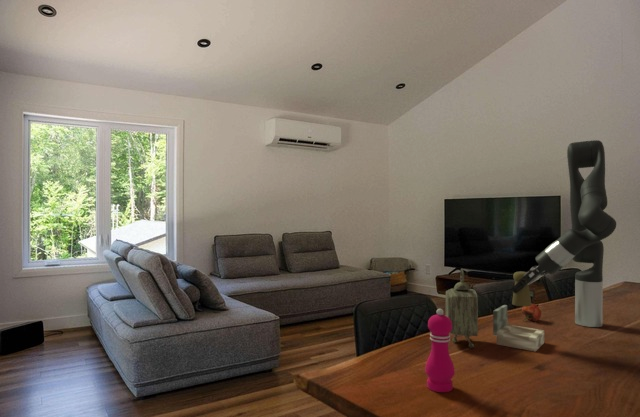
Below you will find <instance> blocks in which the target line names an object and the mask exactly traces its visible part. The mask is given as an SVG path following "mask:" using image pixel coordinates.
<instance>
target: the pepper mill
mask: <svg viewBox="0 0 640 417" xmlns="http://www.w3.org/2000/svg"><path fill="white" fill-rule="evenodd" d="M444 313H445V310H443V309H442V308H438V309H436V314H434V315H431V316H430V317H429V319H428V321H427V329H428V330H429V331H430V333H429V336H430V337H429V340H431V350H430V353H429V356H428V358H427V360H426V363H425V367H424V370H425V374H426V375H427V376H428V378H426V386H427V389H429V390H430V391H432V392H437V393H450V392H451V391H453V389H454V388H453V384H454V383H453V381H452V379H453V377H454V376H455V374H456V373H455V372H456V371H455V370H456V369H455V366H454V363H453V360H452V358H451V356H450V352H449V342H450V341H451V333H450V332H451V330H452V322H451V320H450V318H448V317H447V316H446V314H445V315H444Z"/></svg>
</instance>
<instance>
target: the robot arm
mask: <svg viewBox="0 0 640 417" xmlns="http://www.w3.org/2000/svg"><path fill="white" fill-rule="evenodd" d="M566 149H567V150H566V154H567V156H566V157H567V166H568V175H569V192H570V194H569V198H570V199H569V206H570V207H569V208H570V219H571V220H570V221H571V229H568V230H567V231H565V233H563V234H562V235H561V236H560V237H558V238H557V239H556V240H555V241H553V242H552V243H550V244H549V245H548V246H547V247H546V248H545V249H543V250H542V251H541V252H540V253H539V254H537V255H536V256H535V261H536V263H537V264H538V265H534V266H532V267H531V268H530V269H529V270H528V271H526V272H527V273H526V274H525V275H524V277H522V278H521V279H520V280H519V282H518V283H517V284H516V285H515V284H514V285H513V286H512V287H511V289H510V290H511V291H512V292H513V293H518V292H519V291H520V290H521V289H522V288H524V287H526V286H527V285H528V284H529V285H531V284H533V283H534V282H536V281H538V280H539V279H541V278H542V277H544V276H545V274H546V273H547V274H549V275H552V276H553V275H554V276H555V274H556V273H557V272H559V271H560V270H561V269H563V267H566V265H567V264H569V263H570V262H571V261H572V260H573V262H575V263H581V264H582V263H583V264H593V265H592V266H591V267H590V268H586V269H584V270H579V271H577V272H576V273H575V275H574V277H575V278H574V279H575V280H574V281H575V282H574V287H575V288H574V291H575V292H574V298H575V300H574V323H575V324H576V325H578V326H583V327H588V328H601V327H603V308H604V307H603V305H604V304H603V295H604V294H603V290H604V288H603V282H604V280H603V279H604V278H603V277H604V276H603V267H604V266H603V265H604V264H603V263H604V252H605V251H604V250H605V249H604V243H603V240H604V239H606V238H608V237H609V236H611V235H612V234H613V233H614V232H615V230H616V227H617V220H616V219H615V218H613V217H612V216H611V215H610V214H609V213H607V212H605V211H604V210H605V209H606V208H607V207H608V196H607V190H606V155H605V153H606V152H605V146H604V144H603V142H602V141H601V140H598V139H595V140H594V139H593V140H584V141H576V142H575V141H574V142H570V143H569V144H568V146H567V148H566ZM585 168H593V169H592V171H591V172H590V173H589V174H588V175H587V177H586V178H585V179H584V177H583V176H582V173H581V172H580V169H585ZM524 279H526V280H527V283H525V282H524V281H523V280H524Z"/></svg>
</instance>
